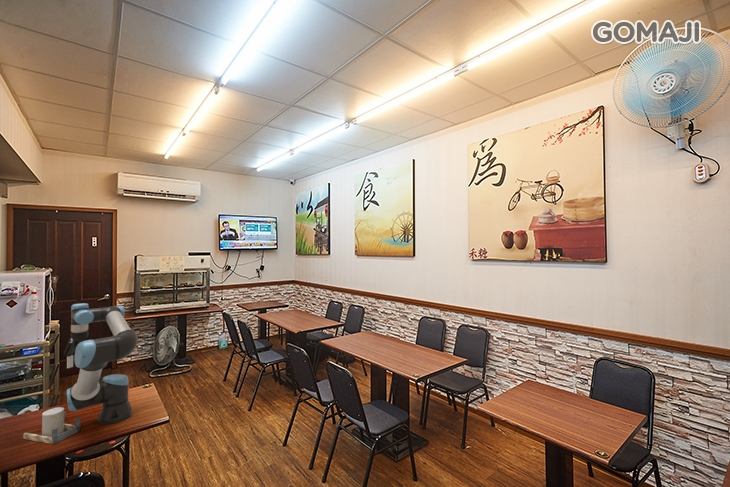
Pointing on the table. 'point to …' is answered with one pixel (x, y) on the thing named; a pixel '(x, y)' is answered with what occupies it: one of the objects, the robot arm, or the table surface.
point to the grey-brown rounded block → (64, 413)
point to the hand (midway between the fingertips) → (79, 368)
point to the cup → (52, 421)
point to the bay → (55, 433)
